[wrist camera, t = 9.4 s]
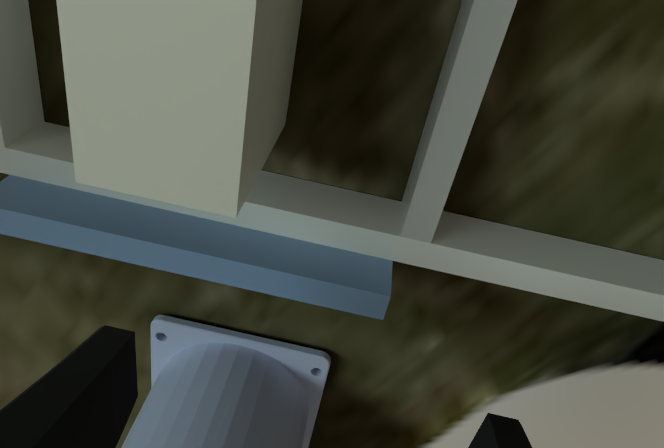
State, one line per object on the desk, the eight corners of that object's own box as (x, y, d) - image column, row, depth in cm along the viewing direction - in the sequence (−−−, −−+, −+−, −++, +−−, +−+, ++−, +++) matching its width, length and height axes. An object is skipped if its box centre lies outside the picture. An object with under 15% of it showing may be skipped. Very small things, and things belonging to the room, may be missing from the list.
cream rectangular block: (285, 123, 18) (235, 218, 13) (169, 97, 18) (75, 182, 13) (326, -168, 13) (274, -195, 8) (172, -201, 13) (29, -248, 8)
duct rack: (781, 334, 20) (855, 426, 16) (25, 164, 20) (-53, 221, 17) (1233, -150, 11) (1568, -162, 8) (-74, -434, 12) (-268, -558, 8)
